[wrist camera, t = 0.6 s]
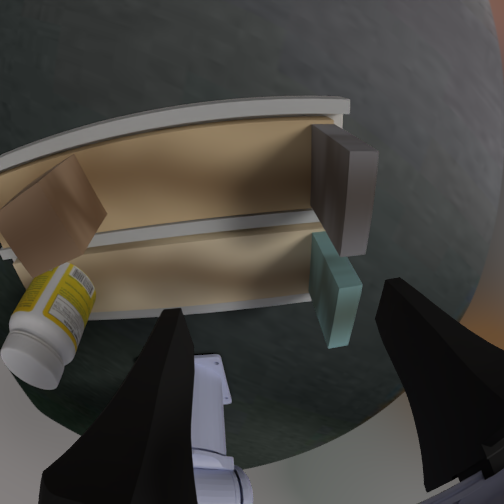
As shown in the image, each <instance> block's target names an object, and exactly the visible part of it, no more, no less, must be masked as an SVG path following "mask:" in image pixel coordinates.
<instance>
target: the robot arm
mask: <svg viewBox="0 0 504 504" xmlns="http://www.w3.org/2000/svg"><path fill="white" fill-rule="evenodd" d="M375 320H376V323H377V326H378V330H379V333H380V335H381V338H382V341H383V344H384V346H385V348H386V350H387V352H388V354H389V357H390V359H391V361H392V363H393V365H394V367H395V369H396V371H397V374H398V376H399V378H400V380H401V382H402V384H403V387H404V389H405V392H406V394H407V397H408V400H409V403H410V406H411V409H412V413H413V416H414V421H415V425H416V429H417V433H418V438H419V444H420V449H421V455H422V463H423V473H424V485H425V488H426V491H427V492H430V491H431V490H434V489H436V488H438V487H440V486H442V485H444V484H446V483H448V482H450V481H452V480H454V479H455V478H457V477H458V478H459V481H460V483H458V484H456V485H454V486H452V487H451V488H449V489H447V490H445V491H443V492H441V493H439V494H437V495H435V496H433V497H431V498H429V499H427V500H424V501H423V502H420V503H418V504H504V350H502V349H500V348H498V347H496V346H494V345H493V344H491V343H489V342H487V341H486V340H484V339H483V338H481V337H479V336H478V335H476V334H475V333H473V332H471V331H470V330H468V329H467V328H466V327H464V326H463V325H461V324H460V323H459V322H457V321H456V320H455V319H453V318H452V317H451V316H449V315H448V314H447V313H445V312H444V311H443V310H441V309H440V308H439V307H438V306H436V305H435V304H434V303H432V302H431V301H430V300H429V299H427V298H426V297H425V296H424V295H422V294H421V293H420V292H419V291H417V290H416V289H415V288H413V287H412V286H411V285H409V284H408V283H407V282H405V281H404V280H403V279H401V278H400V277H399V278H393V279H388V280H385V284H384V288H383V292H382V296H381V299H380V303H379V307H378V310H377V314H376V317H375ZM231 402H232V400H231V396H230V392H229V388H228V384H227V380H226V376H225V372H224V368H223V364H222V360H221V356H220V355H218V354H208V355H194V345H193V342H192V339H191V336H190V333H189V330H188V327H187V324H186V321H185V318H184V315H183V312H182V309H181V308H172V309H164V310H163V311H162V312H161V314H160V316H159V318H158V320H157V322H156V324H155V326H154V328H153V330H152V332H151V334H150V336H149V338H148V340H147V342H146V344H145V346H144V347H143V349H142V351H141V353H140V355H139V357H138V358H137V360H136V362H135V364H134V365H133V367H132V369H131V370H130V372H129V373H128V375H127V377H126V378H125V380H124V382H123V383H122V385H121V386H120V388H119V389H118V391H117V392H116V394H115V395H114V397H113V398H112V399H111V401H110V402H109V404H108V405H107V406H106V408H105V409H104V410H103V411H102V413H101V414H100V415H99V416H98V418H97V419H96V420H95V421H94V423H93V424H92V425H91V426H90V427H89V428H88V430H87V431H86V432H85V433H84V434H83V435H82V436H81V437H80V438H79V439H78V440H77V441H76V442H75V443H74V444H73V445H72V446H71V447H70V448H69V449H68V450H67V451H66V452H65V453H64V454H63V455H62V456H61V457H60V458H58V459H57V460H56V461H55V462H54V463H53V464H51V465H50V466H49V467H48V468H47V469H46V470H44V471H43V473H42V478H41V484H40V493H39V502H38V504H253V492H252V486H251V483H250V480H249V478H248V476H247V475H246V474H245V473H244V471H243V470H242V469H241V468H240V467H239V466H234V461H233V457H228V456H226V441H225V426H224V409H223V404H230V403H231Z"/></svg>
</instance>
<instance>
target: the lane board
mask: <svg viewBox="0 0 504 504" xmlns="http://www.w3.org/2000/svg"><path fill="white" fill-rule="evenodd" d="M343 114H350V100H349V99H346V98H343V97H340V96H272V97H253V98H239V99H228V100H218V101H209V102H201V103H193V104H186V105H179V106H173V107H167V108H161V109H155V110H150V111H145V112H140V113H135V114H130V115H126V116H121V117H117V118H113V119H108V120H104V121H100V122H97V123H93V124H89V125H86V126H82V127H78V128H75V129H72V130H68V131H65V132H62V133H59V134H56V135H53V136H50V137H47V138H44V139H41V140H38V141H35V142H32V143H30V144H27V145H24V146H22V147H19V148H16V149H14V150H11V151H9V152H6V153H4V154H2V155H0V173H1V172H4V171H6V170H9V169H12V168H15V167H17V166H20V165H23V164H26V163H29V162H32V161H35V160H38V159H41V158H44V157H48V156H51V155H54V154H57V153H61V152H64V151H68V150H71V149H75V148H79V147H83V146H86V145H90V144H94V143H98V142H103V141H107V140H111V139H116V138H120V137H125V136H130V135H135V134H140V133H145V132H151V131H156V130H162V129H168V128H175V127H181V126H188V125H196V124H204V123H212V122H221V121H231V120H243V119H256V118H273V117H300V116H327V117H329V118H331V119H333V120H334V124H335V125H337V126H338V127H340V128H342V125H343ZM312 222H320V221H319V219H318V217H317V216H316V214H315V212H314V211H313V209H312V208H308V209H296V210H285V211H274V212H263V213H253V214H243V215H233V216H224V217H214V218H205V219H197V220H188V221H180V222H172V223H164V224H156V225H148V226H141V227H133V228H126V229H119V230H112V231H105V232H98V233H95V235H94V237H93V238H92V240H91V242H90V244H89V245H88V247H96V246H103V245H111V244H119V243H127V242H134V241H143V240H151V239H159V238H167V237H176V236H185V235H193V234H202V233H211V232H221V231H230V230H239V229H249V228H259V227H269V226H279V225H290V224H301V223H312ZM88 247H87V248H88ZM0 255H1V257H2V259H3V260H6V259H13V261H14V262H15V260H16V259H17V256H16V255H15V253H14V252H13V251H12V249H11V248H10V247H8V248H3V247H2V248H1V249H0ZM306 301H312V300H311V297H310V294H309V293H304V294H296V295H289V296H280V297H272V298H264V299H255V300H246V301H236V302H227V303H217V304H206V305H195V306H184V307H171V308H158V309H145V310H129V311H112V312H93V313H90V315H89V318H88V320H108V319H128V318H146V317H159V316H160V314H161V312H162V311H163V310H164V309H172V308H181V309H182V312H183V315H187V314H199V313H210V312H220V311H231V310H240V309H249V308H258V307H267V306H275V305H283V304H291V303H299V302H306Z"/></svg>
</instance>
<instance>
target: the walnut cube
mask: <svg viewBox="0 0 504 504" xmlns="http://www.w3.org/2000/svg"><path fill="white" fill-rule="evenodd" d="M106 216H107V212H106V210H105V209H104V207H103V205H102V204H101V202H100V200H99V198H98V197H97V195H96V193H95V191H94V189H93V188H92V186H91V184H90V182H89V180H88V179H87V177H86V175H85V173H84V171H83V169H82V167H81V165H80V164H79V162H78V160H77V158H76V156H75V154H73V155H71V156H69V157H68V158H66V159H65V160H63V161H62V162H60V163H59V164H57V165H55V166H54V167H52V168H51V169H49V170H48V171H47V172H45V173H44V174H42V175H41V176H39V177H38V178H36V179H35V180H34V181H32V182H31V183H30V184H28V185H27V186H26V187H25V188H23V189H22V190H21V191H20V192H19V193H18V194H16V195H15V196H14V197H13V198H12V199H11V200H10V201H9V202H7V203H6V204H5V205H4V206H3V207H2V208H1V209H0V233H1V234H2V236H3V237H4V239H5V240H6V242H7V243H8V245H9V246H10V248H11V249H12V251H13V252H14V253H15V255H16V256H17V258H18V259H19V261H20V262H21V263H22V265H23V266H24V267H25V269H26V270H27V271H28V273H29V274H30V275H31V277H32V278H34V277H37V276H39V275H41V274H43V273H45V272H47V271H49V270H51V269H53V268H55V267H57V266H60V265H62V264H64V263H66V262H68V261H70V260H73V259H75V258H77V257H79V256H81V255H83V254H84V252H85V250H86V249H87V247H88V245H89V244H90V242H91V240H92V238H93V237H94V235H95V233H96V232H97V230H98V228H99V227H100V225H101V224H102V222H103V220H104V219H105V217H106Z"/></svg>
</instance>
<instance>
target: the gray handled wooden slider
mask: <svg viewBox="0 0 504 504" xmlns="http://www.w3.org/2000/svg"><path fill="white" fill-rule="evenodd" d="M73 154H75V156H76V158H77V160H78V162H79V164H80V165H81V167H82V169H83V171H84V173H85V175H86V177H87V179H88V180H89V182H90V184H91V186H92V188H93V189H94V191H95V193H96V195H97V197H98V198H99V200H100V202H101V204H102V205H103V207H104V209H105V210H106V212H107V216H106V217H105V219H104V220H103V222H102V224H101V225H100V227H99V228H98V230H97V232H96V233H98V232H105V231H112V230H119V229H126V228H133V227H141V226H148V225H156V224H164V223H172V222H180V221H188V220H197V219H205V218H214V217H224V216H233V215H243V214H253V213H263V212H274V211H285V210H296V209H308V208H312V209H313V211H314V212H315V214H316V216H317V217H318V219H319V221H320V223H321V224H322V226H323V228H324V230H325V231H326V233H327V235H328V237H329V238H330V240H331V242H332V244H333V245H334V247H335V249H336V251H337V253H338V254H339V256H340V257H347V256H355V255H363V254H365V253H366V248H367V242H368V236H369V230H370V223H371V217H372V210H373V202H374V195H375V187H376V178H377V169H378V159H379V151H378V150H376V149H374V148H373V147H371V146H370V145H368V144H367V143H365V142H363V141H362V140H360V139H359V138H357V137H355V136H354V135H352V134H350V133H349V132H347V131H345V130H344V129H342V128H340V127H338V126H337V125H335V124H334V120H333V119H331V118H329V117H327V116H300V117H273V118H256V119H243V120H231V121H221V122H212V123H204V124H196V125H188V126H181V127H175V128H168V129H162V130H156V131H151V132H145V133H140V134H135V135H130V136H125V137H120V138H116V139H111V140H107V141H103V142H98V143H94V144H90V145H86V146H83V147H79V148H75V149H71V150H68V151H64V152H61V153H57V154H54V155H51V156H48V157H44V158H41V159H38V160H35V161H32V162H29V163H26V164H23V165H20V166H17V167H15V168H12V169H9V170H6V171H4V172H1V173H0V209H1V208H2V207H3V206H4V205H5V204H6V203H7V202H9V201H10V200H11V199H12V198H13V197H14V196H15V195H16V194H18V193H19V192H20V191H21V190H22V189H23V188H25V187H26V186H27V185H28V184H30V183H31V182H32V181H34V180H35V179H36V178H38V177H39V176H41V175H42V174H44V173H45V172H47V171H48V170H49V169H51V168H52V167H54V166H55V165H57V164H59V163H60V162H62V161H63V160H65V159H66V158H68V157H69V156H71V155H73ZM0 242H1V244H2V246H3V248H8V247H10V246H9V245H8V243H7V242H6V240H5V239H4V237H3V236H2V234H1V233H0Z"/></svg>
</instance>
